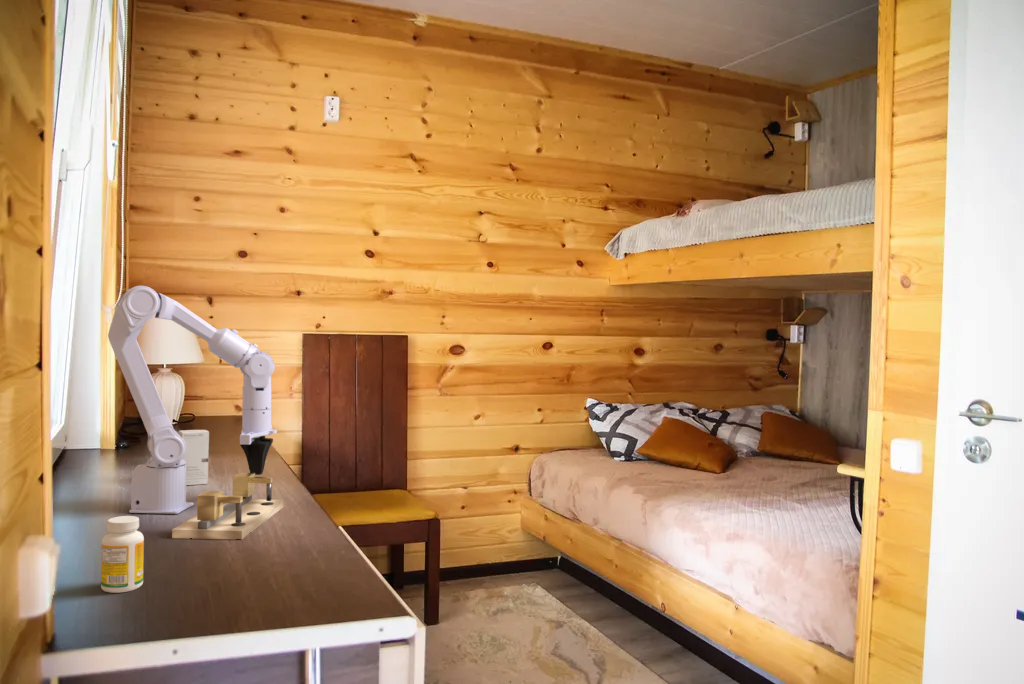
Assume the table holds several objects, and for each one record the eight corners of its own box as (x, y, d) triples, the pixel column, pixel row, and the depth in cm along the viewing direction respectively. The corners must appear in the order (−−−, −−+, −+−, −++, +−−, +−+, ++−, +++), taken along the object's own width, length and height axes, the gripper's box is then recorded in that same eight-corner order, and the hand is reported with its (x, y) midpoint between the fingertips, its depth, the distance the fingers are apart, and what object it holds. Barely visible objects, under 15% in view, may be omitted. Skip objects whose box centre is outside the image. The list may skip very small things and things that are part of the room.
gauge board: (172, 538, 137) (172, 497, 137) (224, 505, 161) (224, 471, 161) (241, 539, 137) (242, 499, 137) (283, 507, 161) (283, 472, 161)
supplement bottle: (111, 596, 108) (111, 526, 108) (94, 587, 112) (94, 519, 111) (150, 586, 112) (151, 519, 112) (133, 578, 116) (133, 512, 115)
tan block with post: (232, 502, 156) (232, 476, 156) (239, 497, 160) (240, 472, 160) (268, 502, 156) (268, 477, 156) (274, 498, 160) (274, 473, 160)
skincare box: (180, 486, 178) (181, 432, 178) (176, 483, 182) (177, 430, 182) (209, 484, 182) (209, 431, 182) (204, 480, 186) (205, 428, 185)
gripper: (265, 413, 157) (264, 481, 158) (286, 405, 172) (286, 467, 172) (229, 412, 158) (229, 480, 158) (253, 404, 172) (253, 467, 172)
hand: (256, 474), depth 165 cm, fingers closed
